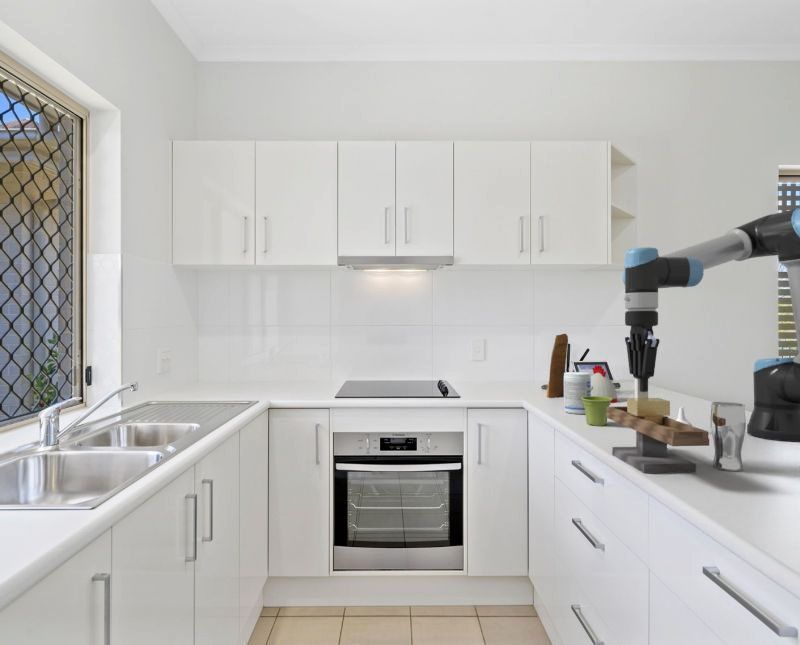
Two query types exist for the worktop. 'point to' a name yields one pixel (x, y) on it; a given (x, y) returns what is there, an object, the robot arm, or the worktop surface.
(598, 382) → the kitchen timer
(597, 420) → the plant pot
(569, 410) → the supplement tub
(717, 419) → the beer glass
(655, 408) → the brass rider
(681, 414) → the garlic bulb
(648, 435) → the balance beam
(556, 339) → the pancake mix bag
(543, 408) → the worktop surface
